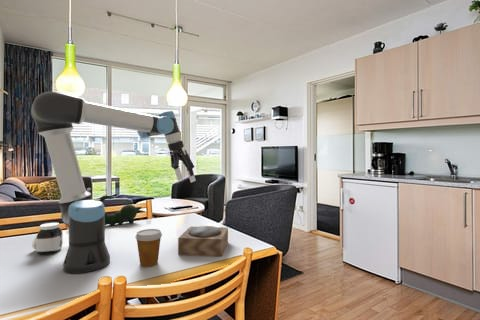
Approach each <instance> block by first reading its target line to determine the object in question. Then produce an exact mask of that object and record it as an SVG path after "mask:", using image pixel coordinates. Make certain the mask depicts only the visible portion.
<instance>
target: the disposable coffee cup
mask: <svg viewBox="0 0 480 320" xmlns="http://www.w3.org/2000/svg"><path fill="white" fill-rule="evenodd" d="M162 236H163V234H162V231H161V230H160V229H157V228H147V229H146V228H145V229H141V230H139V231H137V232H136V235H135V239H136V243H137V244H136V245H137V250H138V251H137V253H138V258H139V265H140V266H141V267H143V268H144V267H146V268H147V267H148V268H149V267H154V266H156V265H157V264H158V262H159V255H160V247H161V238H162Z"/></svg>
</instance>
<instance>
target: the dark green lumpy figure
mask: <svg viewBox="0 0 480 320" xmlns="http://www.w3.org/2000/svg"><path fill="white" fill-rule="evenodd" d="M107 199H109V200H112V197H111V196H110V195H107V194H106V195H102V196H101V197H100V199H97V200H96V201H100V202H102V203H103V202H104V201H106V200H107ZM142 208H143V207H142V206H134V205H133V204H125V205H124V206H122V207H121V209H120V210H118V211H116V212H114V213H111V214H108V213H107V212H106V211H105V226H107V224H109V225H111V226H112V227H114V226H116V224H117V223H119V225H123V224H124V221H126V222H127V221H128V223H129V224H132V223H134V222H135V218H136V216H137V214H138V211H140V210H141V209H142Z"/></svg>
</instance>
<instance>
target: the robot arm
mask: <svg viewBox="0 0 480 320" xmlns="http://www.w3.org/2000/svg"><path fill="white" fill-rule="evenodd" d="M30 116H31V118H32V120H33V121H34V123H35V127H36V131H37V134H39V135H40V136H42V137H43V138H44V140H45V143H46V148H47V151H48V155H49V158H50V161H51V165H52V169H53V171H54V175H55V178H56V182H57V185H58V188H59V192H60V195H61V196H60V198H59V200H58V204H59V208H60V212H61V213H60V215H61V216H60V217H61V220H62V222H63V224H64V225H65V226H66V227H67V229H68V249H67V250H66V251H67V252H66V254H65V257H64V261H63V265H62V267H63V268H62V269H63V272H65V273H66V274H67V273H68V274H85V273H90V272H95V271H98V270H100V269H103V268H105V267H107V266H108V265H109V264H110V262H111V256H110V253H109V250H108V247H107V244H106V238H105V236H106V231H105V229H106V228H105V226H106V225H105V212H106V208H105V204H104V203H103V201H102V202H100V201H97V200H95V199H93V196H92V193H91V191H88V190H87V188H86V187H85V183H84V182H85V181H84V179H83V175H82V172H81V169H80V164H79V161H78V157H77V153H76V149H75V145H74V143H73V139H72V136H71V132H72V131H73V129H74V125H73V124H75V125H81V124H82V123H87V124H93V125H94V124H95V125H101V126H107V127H114V128H120V129H127V130H132V131H136V132H137V134H138V136H139V137H140V138H141V139H146V138H149V137H154V136H160V135H162V136H164V138H165V141H166V143H167V147H168V150H169V154H170V164H171V165H170V166H171V168H172V169H174V172H175V176H176V178H177V181H178V182H179V181H181V180H183V178H184V177H183V176H182V175H183V174H182V171H181V168H180V165H179V163H180V161H181V162H182V164H183V165H184V166H185V168H186V172H187V175H188V179H189V181H190V183H194V182H196V181H197V180H196V177H195V173H194V168H195V165H194V163H193V161H192V159H191V158H190V156H189V154H188V151H187V149H183V148H184V146H185V145H184V142H183V140H182V136H181V133H180V129H179V126H178V122H177V118H176V114H175V113H174V111H173V110H167V111H163V112H160V113H158V116H157V115H152V114H148V113H143V112H138V111H134V110H129V109H123V108H119V107H113V106H110V105H105V104H99V103H94V102H90V101H89V102H88V101H86V100H85V99H84V98H83V97H79V96H75V95H69V94H66V93H62V92H58V91H45V92H42V93H40V94H38V95H37V96H36V98H34V101H33V103H32V104H31V107H30Z"/></svg>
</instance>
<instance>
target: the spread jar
mask: <svg viewBox="0 0 480 320" xmlns="http://www.w3.org/2000/svg"><path fill="white" fill-rule="evenodd" d="M63 237H64V235H63V230H62V228H61V227H60V223H59V222H45V223H42V224H40V225H39V231H38V233H37V234H36V237H35V238H34V239H33V241H32V244H31V247H32V249H34V250H36V252H37V254H39V255H41V256H44V255H46V256H47V255H53V254H56V253H58V252H60V251H61V250H62V247H63V242H64V241H63V239H64V238H63Z"/></svg>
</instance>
